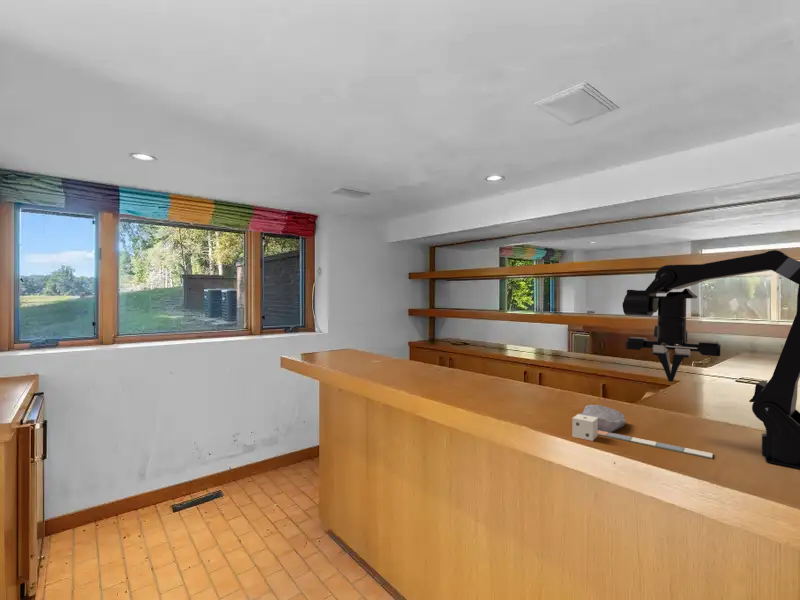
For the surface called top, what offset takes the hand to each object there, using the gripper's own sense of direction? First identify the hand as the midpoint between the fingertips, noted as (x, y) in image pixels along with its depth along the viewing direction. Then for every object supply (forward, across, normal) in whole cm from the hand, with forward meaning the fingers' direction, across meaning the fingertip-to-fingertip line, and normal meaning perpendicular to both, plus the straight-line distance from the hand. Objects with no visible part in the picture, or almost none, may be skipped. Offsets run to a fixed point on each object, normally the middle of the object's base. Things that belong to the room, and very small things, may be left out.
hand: (670, 381), depth 97 cm
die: (+13, +15, +15) cm, 25 cm away
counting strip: (+13, +4, +10) cm, 17 cm away
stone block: (+14, +14, +2) cm, 20 cm away
